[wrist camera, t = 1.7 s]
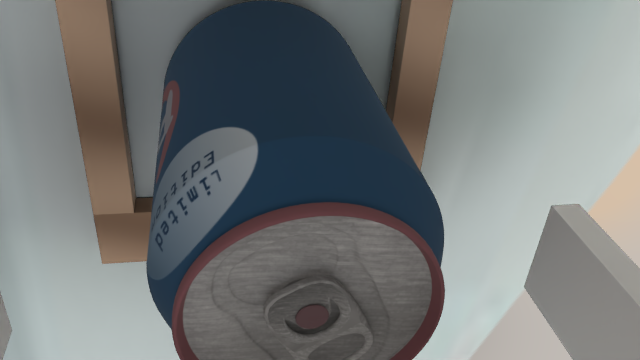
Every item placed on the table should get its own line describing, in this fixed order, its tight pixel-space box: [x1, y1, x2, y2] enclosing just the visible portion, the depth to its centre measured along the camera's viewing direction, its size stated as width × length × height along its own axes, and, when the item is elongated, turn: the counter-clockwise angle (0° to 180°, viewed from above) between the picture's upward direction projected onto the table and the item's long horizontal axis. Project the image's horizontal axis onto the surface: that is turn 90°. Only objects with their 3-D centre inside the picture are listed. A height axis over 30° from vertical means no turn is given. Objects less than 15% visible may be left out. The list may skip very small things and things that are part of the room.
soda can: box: [147, 1, 445, 360], centre depth 17 cm, size 7×7×12 cm
